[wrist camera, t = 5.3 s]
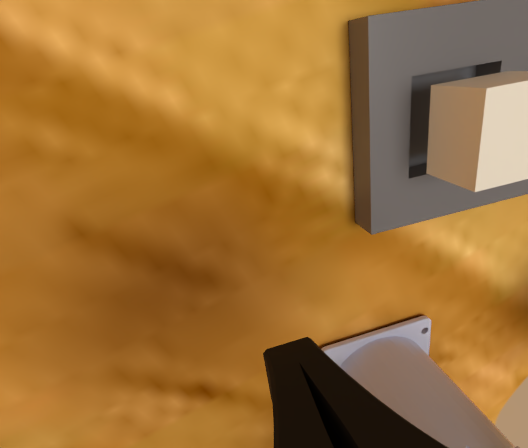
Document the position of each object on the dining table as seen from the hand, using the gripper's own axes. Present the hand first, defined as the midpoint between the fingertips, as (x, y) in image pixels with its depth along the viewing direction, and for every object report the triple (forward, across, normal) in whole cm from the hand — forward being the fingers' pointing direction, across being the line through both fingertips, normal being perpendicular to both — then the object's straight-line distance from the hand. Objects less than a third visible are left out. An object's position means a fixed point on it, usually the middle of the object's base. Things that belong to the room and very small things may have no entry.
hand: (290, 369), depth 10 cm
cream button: (+7, -12, -4) cm, 14 cm away
